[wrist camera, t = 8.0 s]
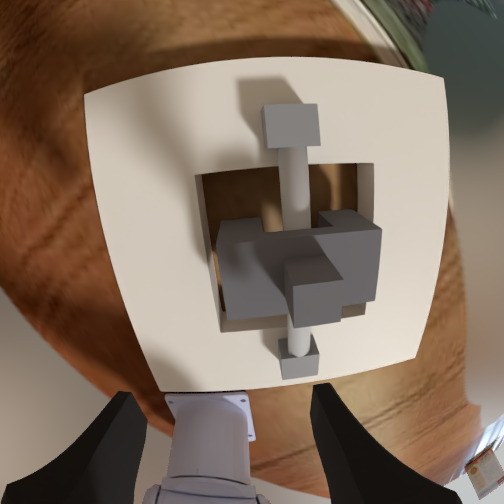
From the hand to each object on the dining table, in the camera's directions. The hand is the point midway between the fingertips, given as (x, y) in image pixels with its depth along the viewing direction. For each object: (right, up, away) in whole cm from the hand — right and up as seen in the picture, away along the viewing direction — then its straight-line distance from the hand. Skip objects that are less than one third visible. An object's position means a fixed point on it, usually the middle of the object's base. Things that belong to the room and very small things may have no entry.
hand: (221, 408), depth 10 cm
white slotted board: (+3, +7, +9) cm, 11 cm away
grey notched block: (+3, +6, +7) cm, 10 cm away
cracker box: (+95, -80, +48) cm, 133 cm away
